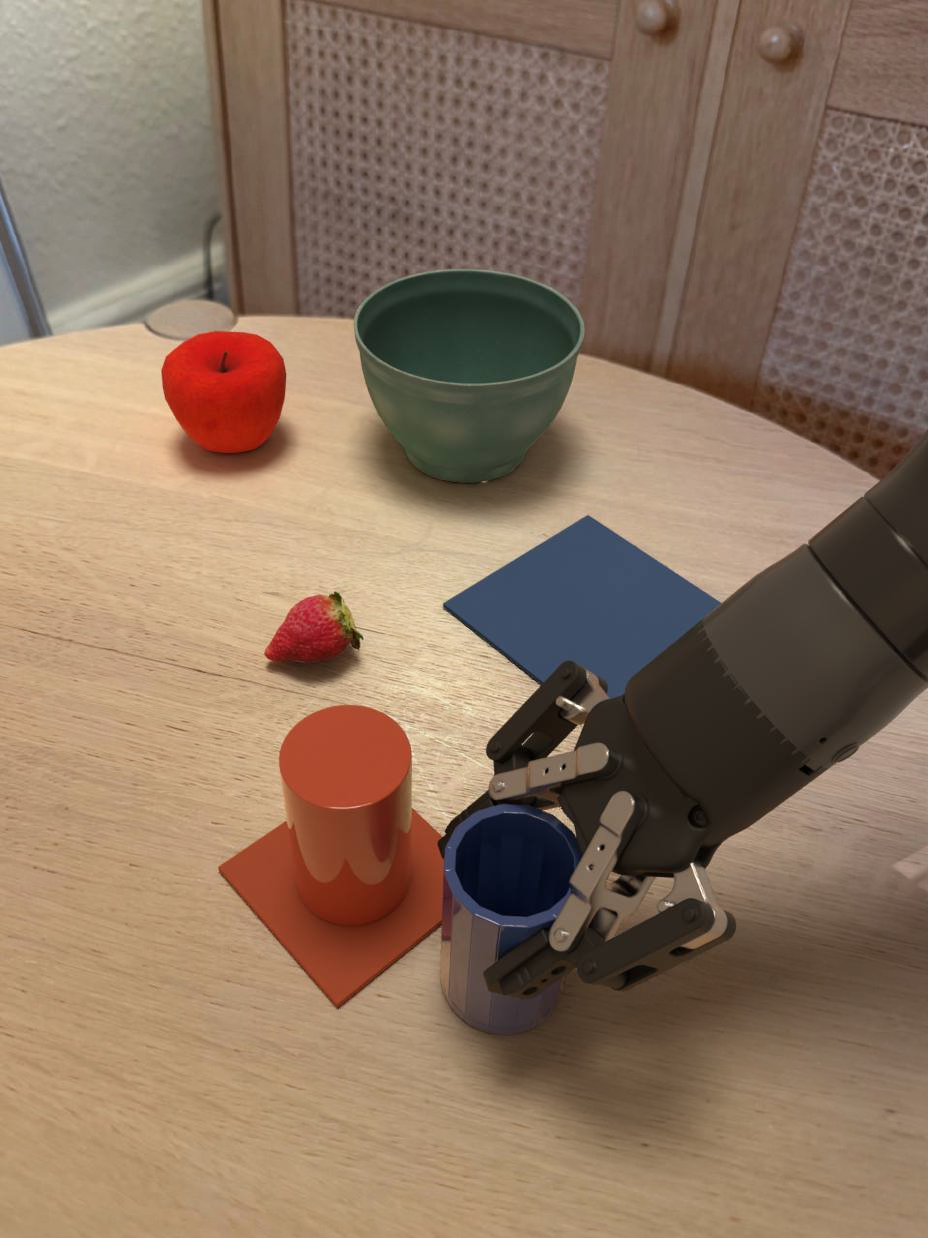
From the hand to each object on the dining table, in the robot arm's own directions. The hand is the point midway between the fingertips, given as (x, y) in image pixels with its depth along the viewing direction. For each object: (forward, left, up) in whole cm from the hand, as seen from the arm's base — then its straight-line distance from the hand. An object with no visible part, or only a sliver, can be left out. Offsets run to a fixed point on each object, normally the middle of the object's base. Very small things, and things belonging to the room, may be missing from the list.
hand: (474, 918), depth 48 cm
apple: (+44, -17, -6) cm, 48 cm away
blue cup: (-1, -2, -6) cm, 7 cm away
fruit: (+22, -8, -6) cm, 24 cm away
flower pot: (+32, -30, -6) cm, 44 cm away
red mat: (+8, 0, -6) cm, 10 cm away
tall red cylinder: (+8, 0, -6) cm, 10 cm away
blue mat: (+13, -24, -6) cm, 28 cm away
